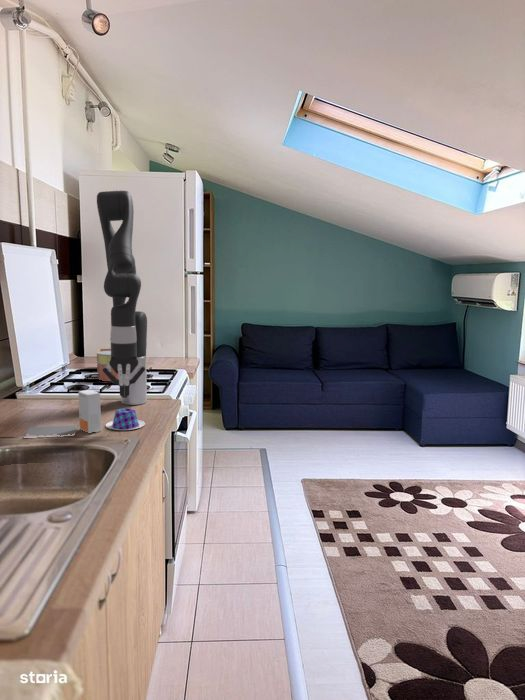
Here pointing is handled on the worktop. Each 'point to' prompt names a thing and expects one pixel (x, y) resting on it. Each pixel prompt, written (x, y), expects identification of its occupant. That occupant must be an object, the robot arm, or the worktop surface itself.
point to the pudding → (125, 420)
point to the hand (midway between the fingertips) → (124, 397)
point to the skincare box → (89, 411)
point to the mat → (52, 430)
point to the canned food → (103, 361)
